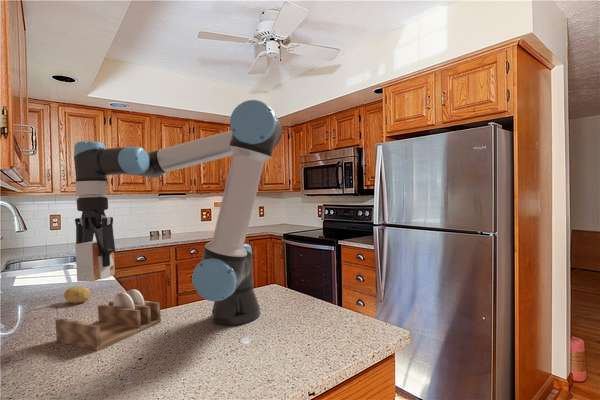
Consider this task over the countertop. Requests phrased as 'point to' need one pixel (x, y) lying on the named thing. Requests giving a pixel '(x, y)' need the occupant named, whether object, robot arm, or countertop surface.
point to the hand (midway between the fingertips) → (96, 277)
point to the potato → (77, 294)
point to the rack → (111, 322)
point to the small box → (90, 261)
